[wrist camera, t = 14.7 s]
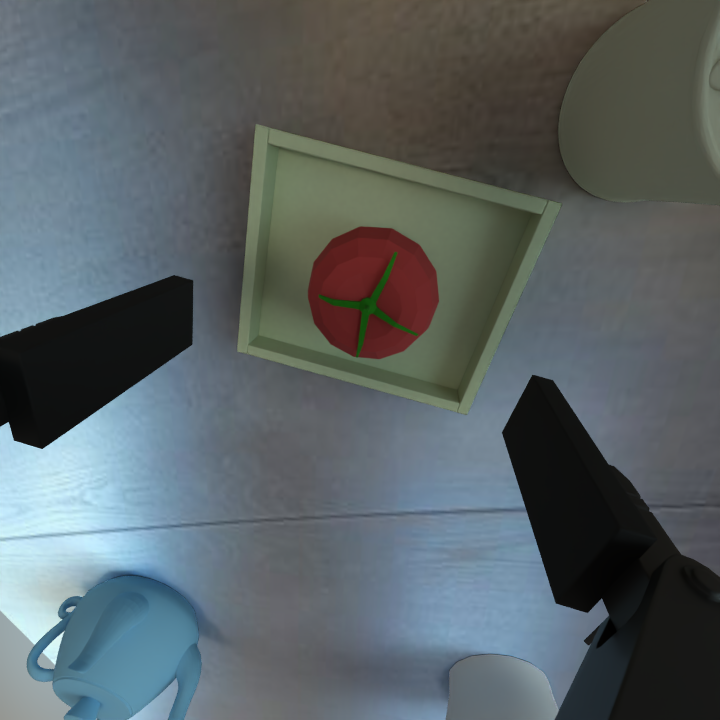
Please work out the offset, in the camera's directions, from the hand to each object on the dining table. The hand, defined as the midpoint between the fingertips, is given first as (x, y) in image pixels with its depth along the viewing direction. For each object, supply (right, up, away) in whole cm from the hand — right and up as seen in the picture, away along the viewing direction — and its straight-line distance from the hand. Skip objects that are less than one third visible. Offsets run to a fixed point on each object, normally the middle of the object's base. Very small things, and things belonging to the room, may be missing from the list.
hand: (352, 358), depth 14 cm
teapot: (-27, -34, +36) cm, 57 cm away
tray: (+2, +6, +12) cm, 13 cm away
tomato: (+2, +5, +11) cm, 13 cm away
